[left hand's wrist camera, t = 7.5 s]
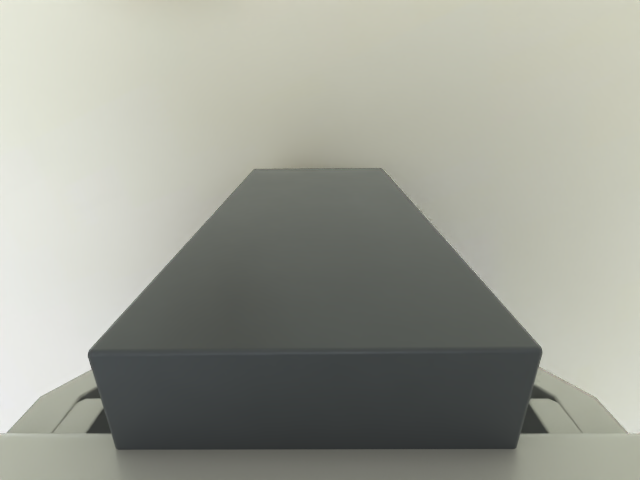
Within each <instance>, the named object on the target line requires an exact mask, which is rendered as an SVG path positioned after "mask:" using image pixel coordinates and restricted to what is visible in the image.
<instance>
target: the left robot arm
mask: <svg viewBox="0 0 640 480" xmlns="http://www.w3.org/2000/svg"><path fill="white" fill-rule="evenodd" d="M0 480H640V433H628V432H627V431H626V430H625V429H624V428H623V427H622V426H621V425H620V424H619V423H618V421H617V420H616V419H615V418H614V417H613V416H612V415H611V414H610V413H609V412H608V410H607V409H606V408H605V407H604V406H603V405H602V404H601V403H600V402H599V401H598V400H597V398H596V397H594V396H592V395H590V394H588V393H586V392H584V391H583V390H581V389H579V388H577V387H575V386H573V385H572V384H570V383H568V382H566V381H564V380H562V379H561V378H559V377H557V376H555V375H553V374H551V373H549V372H548V371H546V370H544V369H542V368H540V367H538V371H537V375H536V378H535V382H534V386H533V389H532V393H531V397H530V400H529V404H528V408H527V411H526V415H525V418H524V422H523V426H522V429H521V433H520V437H519V440H518V444H517V448H515V449H247V450H118V449H116V448H115V444H114V441H113V438H112V434H111V431H110V428H109V424H108V421H107V418H106V414H105V411H104V408H103V405H102V401H101V398H100V395H99V391H98V388H97V385H96V381H95V378H94V375H93V371H92V370H90V371H88V372H86V373H84V374H82V375H80V376H78V377H77V378H75V379H73V380H71V381H69V382H67V383H65V384H64V385H62V386H60V387H58V388H56V389H54V390H52V391H50V392H49V393H47V394H45V395H43V396H41V397H40V398H39V399H38V400H37V401H36V402H35V403H34V404H33V405H32V406H31V407H30V408H29V409H28V411H27V412H26V413H25V414H24V415H23V416H22V417H21V418H20V419H19V420H18V421H17V422H16V423H15V424H14V425H13V427H12V428H11V429H10V430H9V431H8V432H7V433H0Z"/></svg>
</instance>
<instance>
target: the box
mask: <svg viewBox="0 0 640 480" xmlns="http://www.w3.org/2000/svg"><path fill="white" fill-rule="evenodd" d="M541 356H542V349H541V347H540V346H539V344H538V343H537V342H536V341H535V340H534V339H533V338H532V337H531V336H530V334H529V333H528V332H527V331H526V330H525V329H524V328H523V327H522V325H521V324H520V323H519V322H518V321H517V320H516V319H515V318H514V316H513V315H512V314H511V313H510V312H509V311H508V310H507V309H506V307H505V306H504V305H503V304H502V303H501V302H500V301H499V300H498V298H497V297H496V296H495V295H494V294H493V293H492V292H491V291H490V289H489V288H488V287H487V286H486V285H485V284H484V283H483V282H482V280H481V279H480V278H479V277H478V276H477V275H476V274H475V273H474V271H473V270H472V269H471V268H470V267H469V266H468V265H467V264H466V262H465V261H464V260H463V259H462V258H461V257H460V256H459V255H458V253H457V252H456V251H455V250H454V249H453V248H452V247H451V246H450V244H449V243H448V242H447V241H446V240H445V239H444V238H443V237H442V235H441V234H440V233H439V232H438V231H437V230H436V229H435V228H434V226H433V225H432V224H431V223H430V222H429V221H428V220H427V219H426V217H425V216H424V215H423V214H422V213H421V212H420V211H419V210H418V208H417V207H416V206H415V205H414V204H413V203H412V202H411V201H410V199H409V198H408V197H407V196H406V195H405V194H404V193H403V192H402V190H401V189H400V188H399V187H398V186H397V185H396V184H395V183H394V181H393V180H392V179H391V178H390V177H389V176H388V175H387V174H386V172H385V171H384V170H383V169H382V168H338V169H254V170H253V171H252V172H251V173H250V174H249V175H248V177H247V178H246V179H245V180H244V181H243V182H242V183H241V184H240V185H239V186H238V187H237V189H236V190H235V191H234V192H233V193H232V194H231V195H230V196H229V197H228V198H227V200H226V201H225V202H224V203H223V204H222V205H221V206H220V207H219V208H218V209H217V211H216V212H215V213H214V214H213V215H212V216H211V217H210V218H209V219H208V220H207V222H206V223H205V224H204V225H203V226H202V227H201V228H200V229H199V230H198V231H197V232H196V234H195V235H194V236H193V237H192V238H191V239H190V240H189V241H188V242H187V243H186V245H185V246H184V247H183V248H182V249H181V250H180V251H179V252H178V253H177V254H176V256H175V257H174V258H173V259H172V260H171V261H170V262H169V263H168V264H167V265H166V267H165V268H164V269H163V270H162V271H161V272H160V273H159V274H158V275H157V276H156V277H155V279H154V280H153V281H152V282H151V283H150V284H149V285H148V286H147V287H146V288H145V290H144V291H143V292H142V293H141V294H140V295H139V296H138V297H137V298H136V299H135V301H134V302H133V303H132V304H131V305H130V306H129V307H128V308H127V309H126V310H125V311H124V313H123V314H122V315H121V316H120V317H119V318H118V319H117V320H116V321H115V322H114V324H113V325H112V326H111V327H110V328H109V329H108V330H107V331H106V332H105V333H104V335H103V336H102V337H101V338H100V339H99V340H98V341H97V342H96V343H95V344H94V346H93V347H92V348H91V349H90V350H89V352H88V358H89V361H90V365H91V368H92V371H93V375H94V378H95V381H96V385H97V388H98V391H99V395H100V398H101V401H102V405H103V408H104V411H105V414H106V418H107V421H108V424H109V428H110V431H111V434H112V438H113V441H114V444H115V448H116V449H118V450H247V449H515V448H517V444H518V440H519V437H520V433H521V429H522V426H523V422H524V418H525V415H526V411H527V408H528V404H529V400H530V397H531V393H532V389H533V386H534V382H535V378H536V375H537V371H538V367H539V364H540V360H541Z"/></svg>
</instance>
